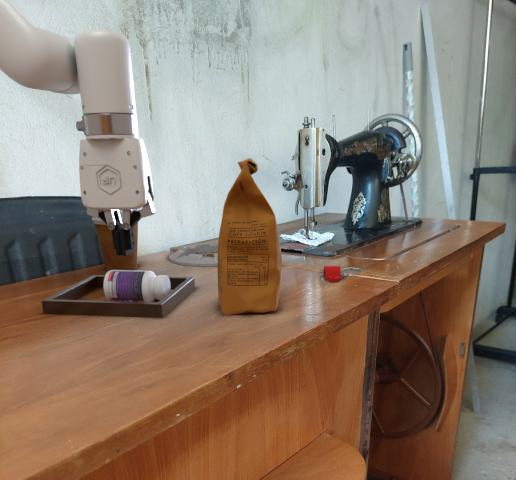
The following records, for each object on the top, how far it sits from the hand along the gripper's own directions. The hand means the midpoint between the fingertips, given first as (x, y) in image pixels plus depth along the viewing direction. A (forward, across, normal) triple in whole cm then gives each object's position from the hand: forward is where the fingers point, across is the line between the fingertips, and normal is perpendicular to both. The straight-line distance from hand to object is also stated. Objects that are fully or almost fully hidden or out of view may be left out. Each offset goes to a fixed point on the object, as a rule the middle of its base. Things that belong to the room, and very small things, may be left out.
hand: (125, 253), depth 82 cm
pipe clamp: (+8, +32, +21) cm, 39 cm away
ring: (+8, +4, +38) cm, 39 cm away
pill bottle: (+5, -4, 0) cm, 6 cm away
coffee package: (+8, +20, 0) cm, 22 cm away
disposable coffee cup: (+8, -12, +24) cm, 28 cm away
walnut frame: (+8, -1, 0) cm, 8 cm away
